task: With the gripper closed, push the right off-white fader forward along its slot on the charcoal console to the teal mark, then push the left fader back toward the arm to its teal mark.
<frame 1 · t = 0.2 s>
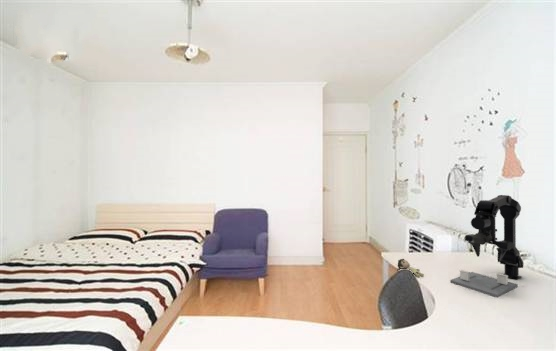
hand: (488, 259, 133), 14 cm above the table, fingers open, 9 cm apart
fader 1: (464, 275, 140), point 4 cm above the table, slide at 11.0 cm
figurine: (409, 273, 154), on the table
console: (483, 284, 137), on the table
fader 2: (502, 279, 134), point 4 cm above the table, slide at 1.0 cm
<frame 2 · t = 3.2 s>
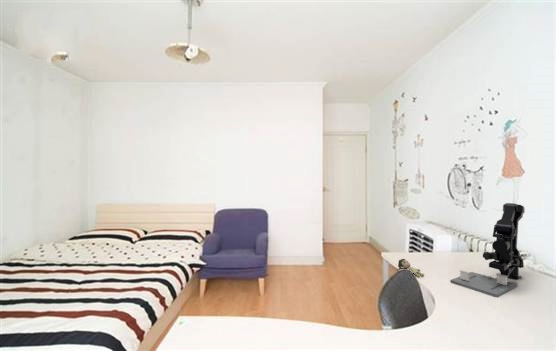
hand: (504, 280, 135), 3 cm above the table, fingers closed
fader 2: (501, 279, 134), point 4 cm above the table, slide at 1.5 cm, touching gripper
everything else where it was.
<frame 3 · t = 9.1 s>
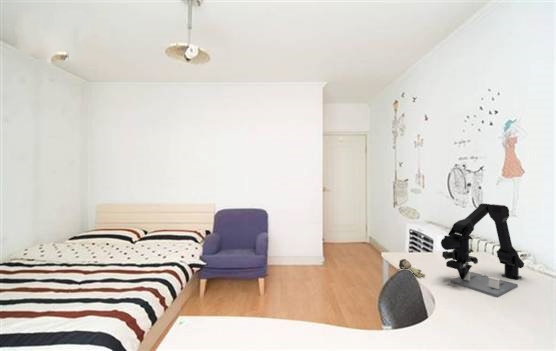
hand: (462, 279, 138), 2 cm above the table, fingers closed
fader 1: (465, 275, 140), point 4 cm above the table, slide at 10.6 cm, touching gripper
fader 2: (493, 282, 130), point 4 cm above the table, slide at 9.9 cm
everything else where it was.
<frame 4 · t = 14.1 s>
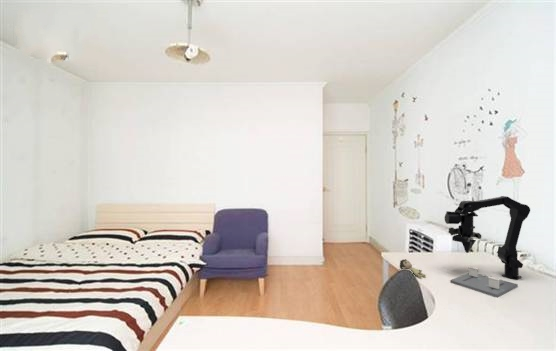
hand: (467, 252, 150), 12 cm above the table, fingers closed
fader 1: (473, 271, 144), point 4 cm above the table, slide at 2.1 cm
at the end: fader 2 slide at 9.9 cm; fader 1 slide at 2.1 cm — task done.
